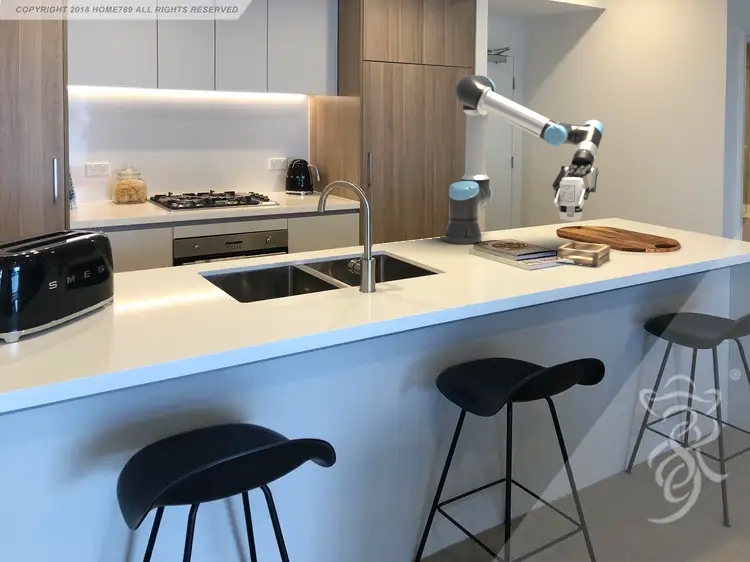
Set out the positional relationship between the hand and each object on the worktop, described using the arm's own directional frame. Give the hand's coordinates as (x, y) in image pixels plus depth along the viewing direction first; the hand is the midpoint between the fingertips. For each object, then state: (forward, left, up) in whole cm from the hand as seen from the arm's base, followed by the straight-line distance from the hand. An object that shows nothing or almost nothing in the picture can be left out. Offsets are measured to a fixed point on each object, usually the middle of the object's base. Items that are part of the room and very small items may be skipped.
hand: (567, 205), depth 251 cm
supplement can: (0, +3, -6) cm, 7 cm away
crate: (+9, -7, -18) cm, 22 cm away
